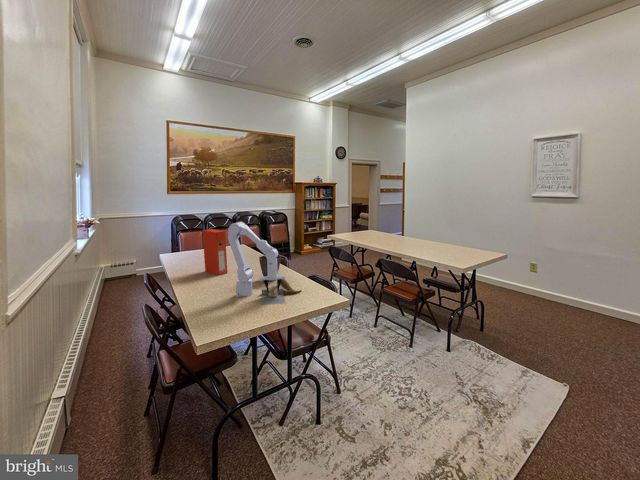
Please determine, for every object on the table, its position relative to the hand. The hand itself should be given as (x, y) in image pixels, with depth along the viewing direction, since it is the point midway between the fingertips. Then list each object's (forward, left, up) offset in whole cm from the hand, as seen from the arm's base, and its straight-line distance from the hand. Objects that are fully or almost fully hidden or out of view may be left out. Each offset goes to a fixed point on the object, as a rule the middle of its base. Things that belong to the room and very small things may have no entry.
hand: (272, 292), depth 181 cm
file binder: (-40, +61, -3) cm, 73 cm away
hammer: (+10, +15, -4) cm, 18 cm away
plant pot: (0, +36, -3) cm, 36 cm away
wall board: (0, -4, -3) cm, 5 cm away
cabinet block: (0, 0, -2) cm, 2 cm away
